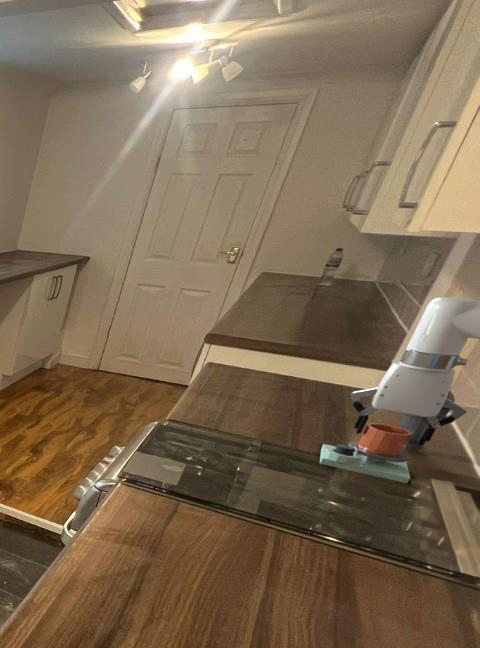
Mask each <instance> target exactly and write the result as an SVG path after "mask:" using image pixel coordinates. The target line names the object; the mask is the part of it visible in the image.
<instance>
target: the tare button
mask: <svg viewBox="0 0 480 648" xmlns="http://www.w3.org/2000/svg"><path fill="white" fill-rule="evenodd" d="M335 447H336V449H335V451H334V452H336V453H339V454H342V455H347V456H352V455H353V453H354V451H355V449H356V448H354V447H352V446H349V444H343V443H339V444H337V445H336V446H335Z"/></svg>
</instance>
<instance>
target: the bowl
mask: <svg viewBox="0 0 480 648" xmlns="http://www.w3.org/2000/svg"><path fill="white" fill-rule="evenodd" d="M411 436H412V432H410V431H408V430H405V429H403V428H399V426H395V425H391V424H385V423H378V422H377V423H375V422H374V423H373V422H370V423H366V425H365V427H364V429H363V431H362V433H361V436H360V438H359V440H358V441H357V442H358V444H359V445H360V447H361V448H362V449H364V450H367V451H370V452H373V453H378V454H383V455H397V454H400V453H402V452H404V451H403V450H404V448H405V446H406V444H407V443H408V441H409V439H410V437H411Z"/></svg>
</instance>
